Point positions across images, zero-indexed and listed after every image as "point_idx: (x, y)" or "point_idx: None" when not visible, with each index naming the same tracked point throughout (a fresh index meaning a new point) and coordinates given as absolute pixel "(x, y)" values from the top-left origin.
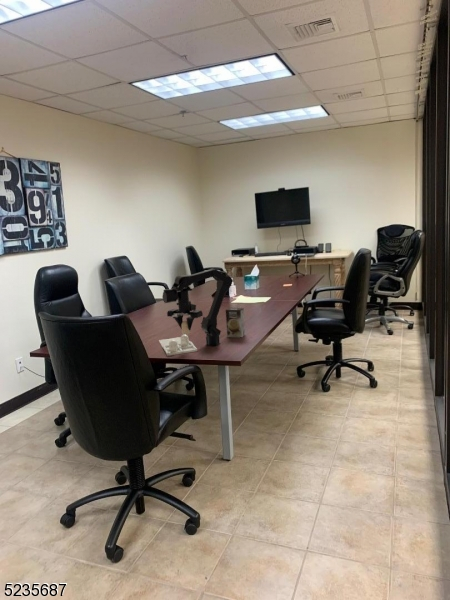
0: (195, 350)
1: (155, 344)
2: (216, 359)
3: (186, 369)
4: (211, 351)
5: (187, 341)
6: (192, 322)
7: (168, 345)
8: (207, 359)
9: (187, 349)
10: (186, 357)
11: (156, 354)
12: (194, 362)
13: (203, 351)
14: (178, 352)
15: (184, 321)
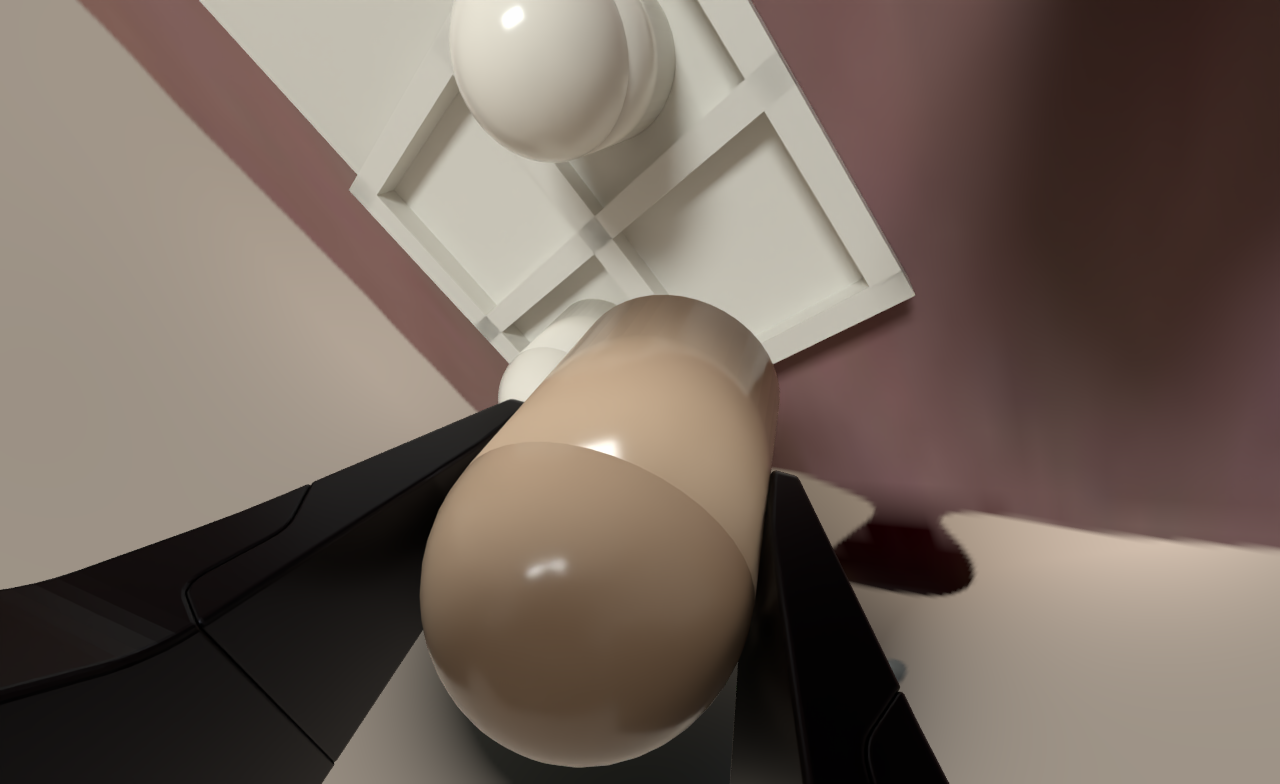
0: (880, 305)
1: (165, 15)
2: (1264, 538)
3: (898, 669)
4: (1201, 214)
5: (640, 95)
6: (929, 750)
7: (398, 160)
8: (1107, 525)
9: (718, 228)
10: (805, 454)
11: (466, 372)
12: (940, 573)
13: (1013, 232)
14: None
15: (516, 752)
